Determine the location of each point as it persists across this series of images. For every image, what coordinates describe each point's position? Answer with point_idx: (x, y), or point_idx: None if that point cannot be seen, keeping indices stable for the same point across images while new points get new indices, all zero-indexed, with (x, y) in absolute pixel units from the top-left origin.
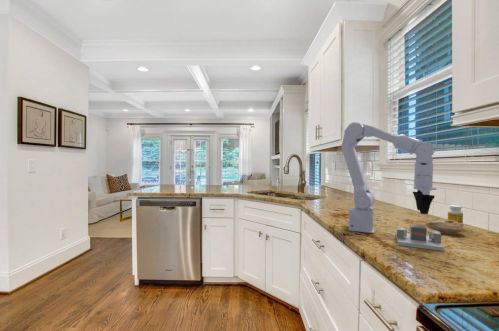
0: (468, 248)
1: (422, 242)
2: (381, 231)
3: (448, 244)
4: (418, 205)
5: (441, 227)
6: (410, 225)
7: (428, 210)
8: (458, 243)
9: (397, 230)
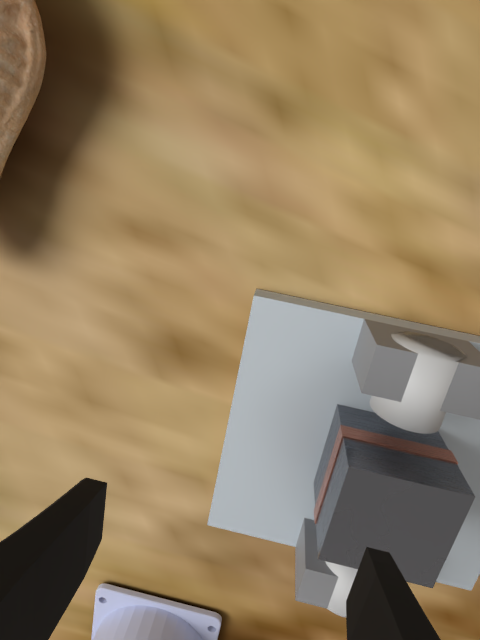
0: (470, 126)
1: (466, 460)
2: (139, 554)
3: (375, 243)
4: (66, 595)
5: (3, 157)
6: (354, 565)
7: (415, 600)
8: (324, 142)
9: None
